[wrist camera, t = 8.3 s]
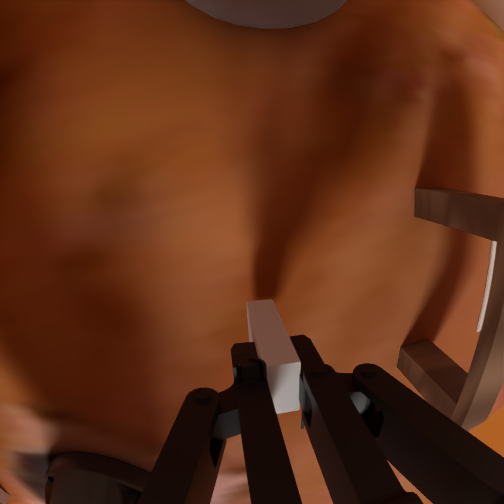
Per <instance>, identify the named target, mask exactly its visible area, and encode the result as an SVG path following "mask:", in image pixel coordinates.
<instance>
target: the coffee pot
mask: <svg viewBox="0 0 504 504" xmlns="http://www.w3.org/2000/svg"><path fill="white" fill-rule="evenodd" d="M186 1H187V2H188V3H189V4H190V5H191V6H193V7H195V8H197V9H199V10H201V11H202V12H204V13H206V14H208V15H210V16H211V17H213V18H215V19H218V20H221V21H225V22H228V23H231V24H234V25H237V26H243V27H251V28H258V29H284V28H293V27H297V26H301V25H306V24H311V23H315V22H317V21H319V20H321V19H323V18H325V17H327V16H329V15H332V14H334V13H335V12H337V11H338V10H339V9H340V8H341V7H342V6H343V5H344V4H345V3H346V2H347V1H348V0H186Z"/></svg>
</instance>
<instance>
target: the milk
mask: <svg viewBox="0 0 504 504" xmlns="http://www.w3.org/2000/svg"><path fill="white" fill-rule="evenodd" d="M9 498H10V495H8V494H7V493H6V492H5V491H3V490H2V489H1V488H0V503H1V504H7V502H8V500H9Z"/></svg>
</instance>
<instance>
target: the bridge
mask: <svg viewBox="0 0 504 504" xmlns="http://www.w3.org/2000/svg"><path fill="white" fill-rule="evenodd" d="M415 217H418V218H421V219H425V220H428V221H432V222H435V223H438V224H442V225H445V226H448V227H452V228H455V229H458V230H462V231H465V232H468V233H471V234H474V235H477V236H480V237H483V238H486V239H489V240H492V241H495V242H497V245H496V253H495V261H494V268H493V274H492V280H491V286H490V292H489V297H488V302H487V307H486V311H485V316H484V320H483V324H482V328H481V332H480V336H479V339H478V343H477V347H476V350H475V353H474V357H473V360H472V363H471V366H470V369H469V372H468V373H467V372H465V371H464V370H463V369H462V368H461V367H460V366H459V365H458V364H456V363H455V362H454V361H453V360H452V359H451V358H450V357H448V356H447V355H446V354H445V353H444V352H443V351H442V350H440V349H439V348H438V347H437V346H436V345H435V344H433V343H432V342H431V341H430V340H426V341H422V342H419V343H415V344H411V345H408V346H404V347H401V349H400V354H399V360H398V365H397V368H398V369H399V370H400V371H401V372H402V373H403V374H404V376H405V377H406V378H407V379H408V380H409V381H410V382H411V384H412V385H413V386H414V387H415V388H416V389H417V390H418V392H419V393H420V394H421V395H422V396H423V397H424V398H425V400H426V401H427V402H428V403H429V404H430V405H432V406H433V407H435V408H436V409H437V410H439V411H440V412H441V413H443V414H444V415H445V416H447V417H448V418H450V419H451V420H452V421H454V422H455V423H456V424H458V425H459V426H461V427H462V428H463V429H465V430H466V431H468V430H470V429H471V428H473V427H475V426H477V425H479V424H481V423H482V422H484V421H486V420H487V417H488V415H489V413H490V411H491V409H492V407H493V405H494V403H495V400H496V398H497V396H498V394H499V391H500V389H501V386H502V384H503V382H504V198H499V197H493V196H488V195H482V194H476V193H470V192H464V191H457V190H450V189H433V188H415Z"/></svg>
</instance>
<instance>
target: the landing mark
mask: <svg viewBox="0 0 504 504" xmlns="http://www.w3.org/2000/svg"><path fill="white" fill-rule="evenodd" d="M496 245H497V242H495V241H492V245H491V253H490V261H489V268H488V275H487V281H486V287H485V292H484V298H483V303H482V307H481V312H480V317H479V321H478V325H477V329H476V331H477V332H479V331H481V328H482V324H483V320H484V316H485V311H486V307H487V302H488V297H489V292H490V286H491V280H492V274H493V268H494V261H495V253H496Z"/></svg>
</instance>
